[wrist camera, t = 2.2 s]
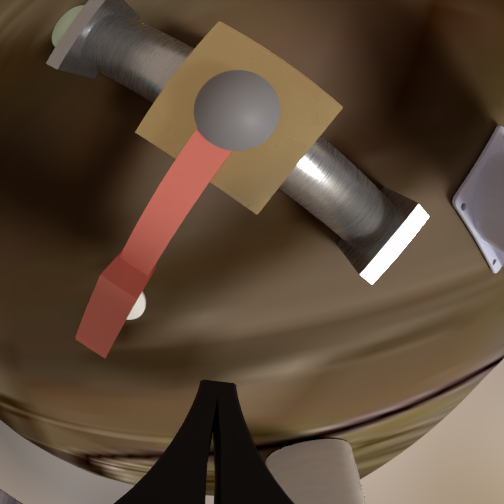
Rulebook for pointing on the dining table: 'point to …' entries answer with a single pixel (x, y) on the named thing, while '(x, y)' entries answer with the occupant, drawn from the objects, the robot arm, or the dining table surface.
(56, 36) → the pale green round disc
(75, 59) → the valve body
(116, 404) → the dining table surface
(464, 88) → the dining table surface
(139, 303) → the white flattened pebble
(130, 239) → the lever
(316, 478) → the toilet tissue
